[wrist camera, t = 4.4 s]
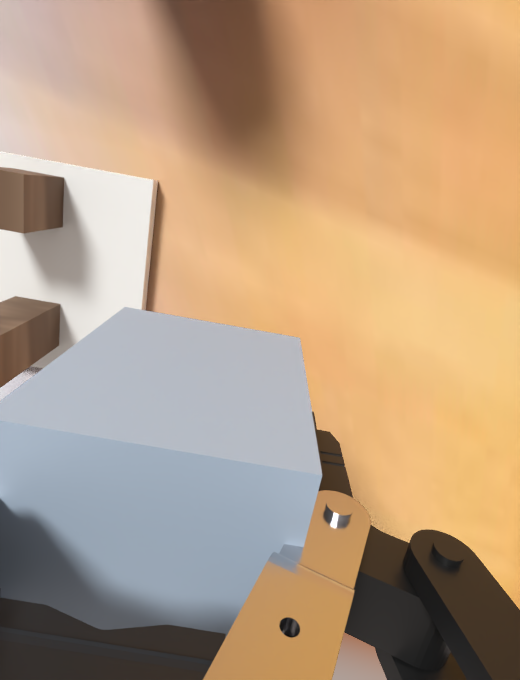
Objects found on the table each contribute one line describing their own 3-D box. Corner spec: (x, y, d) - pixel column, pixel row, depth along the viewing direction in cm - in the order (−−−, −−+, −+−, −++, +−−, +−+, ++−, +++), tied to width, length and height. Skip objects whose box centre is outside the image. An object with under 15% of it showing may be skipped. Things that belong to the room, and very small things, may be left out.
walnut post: (60, 303, 25) (-15, 343, 19) (59, 345, 26) (-13, 396, 20) (15, 296, 25) (-76, 332, 19) (15, 337, 26) (-72, 387, 19)
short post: (64, 177, 23) (23, 174, 19) (62, 227, 24) (23, 233, 20) (15, 168, 23) (-36, 163, 19) (15, 218, 24) (-34, 223, 20)
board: (158, 180, 24) (153, 180, 23) (139, 377, 28) (134, 384, 27) (-62, 139, 24) (-76, 137, 23) (-51, 345, 27) (-63, 350, 26)
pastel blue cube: (300, 337, 13) (322, 475, 7) (268, 483, 14) (262, 703, 8) (125, 307, 13) (-22, 417, 6) (113, 457, 14) (-12, 660, 8)
